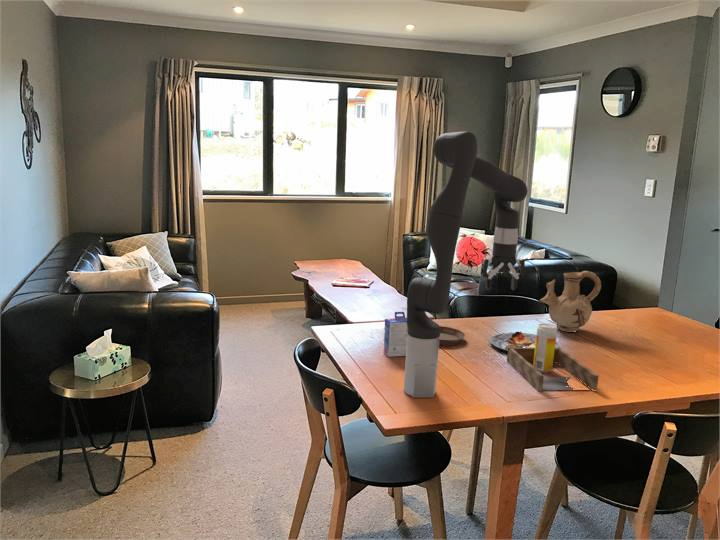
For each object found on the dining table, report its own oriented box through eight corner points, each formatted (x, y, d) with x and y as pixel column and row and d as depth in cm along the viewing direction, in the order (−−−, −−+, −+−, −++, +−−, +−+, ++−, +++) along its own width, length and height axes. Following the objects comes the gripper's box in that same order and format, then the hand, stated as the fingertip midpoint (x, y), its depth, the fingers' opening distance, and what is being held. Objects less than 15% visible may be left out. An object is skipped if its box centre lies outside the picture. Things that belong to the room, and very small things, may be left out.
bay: (596, 391, 175) (598, 375, 174) (538, 391, 172) (540, 375, 171) (558, 361, 199) (560, 347, 198) (506, 361, 197) (508, 347, 196)
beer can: (554, 369, 192) (559, 325, 189) (549, 374, 186) (554, 329, 184) (535, 365, 195) (540, 322, 192) (530, 370, 190) (535, 326, 187)
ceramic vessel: (560, 321, 250) (567, 264, 245) (602, 332, 236) (610, 272, 231) (535, 327, 239) (542, 268, 234) (578, 340, 224) (586, 277, 219)
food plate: (514, 333, 229) (515, 324, 228) (570, 349, 213) (571, 340, 212) (477, 347, 212) (478, 338, 211) (535, 366, 196) (536, 356, 195)
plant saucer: (450, 331, 228) (451, 324, 228) (473, 346, 212) (474, 338, 211) (409, 334, 223) (409, 326, 222) (429, 349, 206) (429, 340, 206)
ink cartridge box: (408, 350, 203) (411, 310, 201) (415, 355, 198) (418, 314, 195) (382, 352, 200) (384, 311, 197) (388, 357, 195) (390, 315, 192)
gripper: (488, 242, 184) (484, 292, 188) (531, 243, 187) (526, 292, 190) (480, 239, 192) (476, 286, 195) (521, 239, 194) (516, 287, 197)
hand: (500, 289), depth 193 cm, fingers open, 8 cm apart
